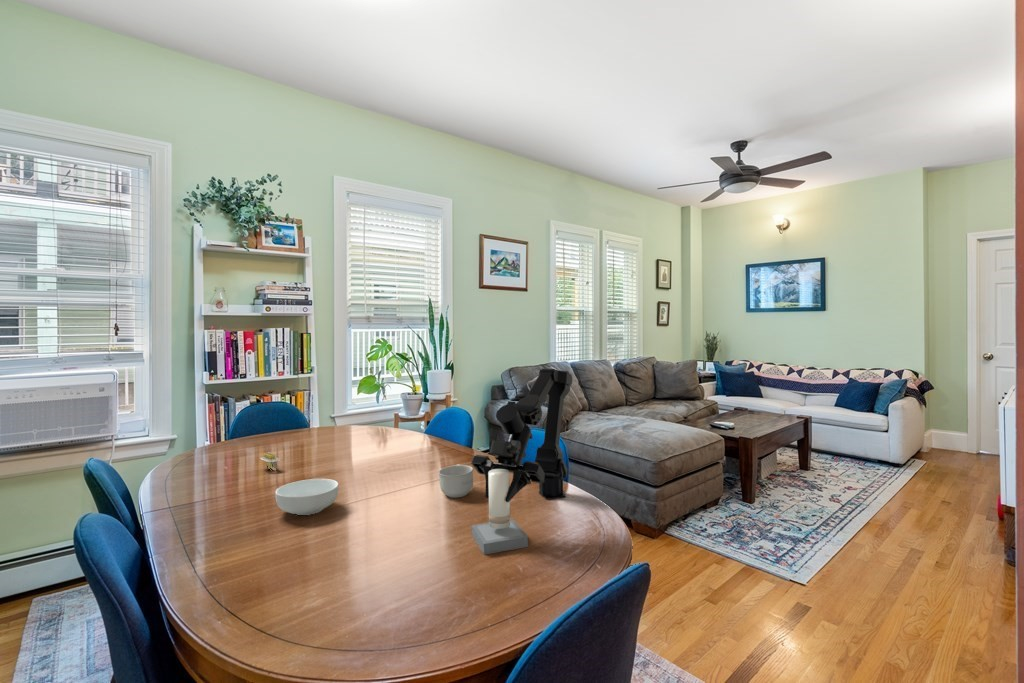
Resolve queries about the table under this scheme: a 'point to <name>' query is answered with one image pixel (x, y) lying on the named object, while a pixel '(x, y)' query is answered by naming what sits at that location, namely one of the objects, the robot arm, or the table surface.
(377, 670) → the table surface
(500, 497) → the white cylinder
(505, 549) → the base
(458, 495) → the teacup
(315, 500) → the cereal bowl
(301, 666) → the table surface
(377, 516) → the table surface
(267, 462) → the yellow and grey piece
